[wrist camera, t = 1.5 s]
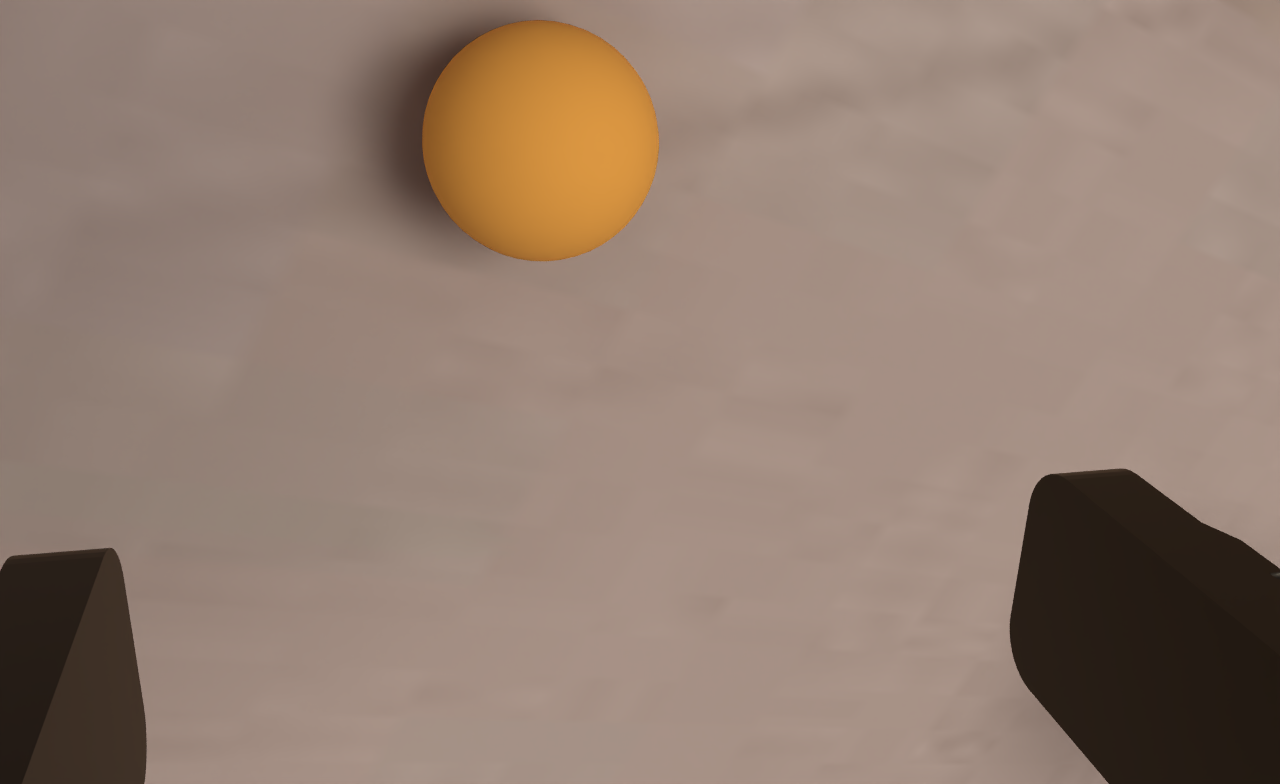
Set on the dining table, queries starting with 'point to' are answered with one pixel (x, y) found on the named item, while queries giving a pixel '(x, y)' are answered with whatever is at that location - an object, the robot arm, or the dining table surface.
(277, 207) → the dining table surface
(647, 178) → the ball
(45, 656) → the robot arm
